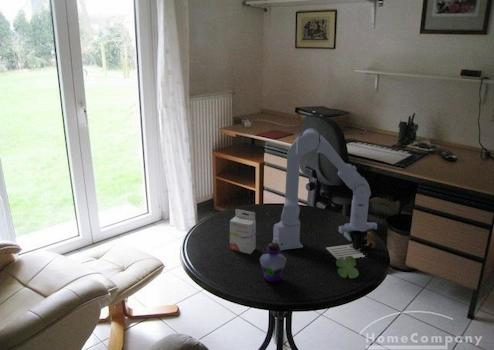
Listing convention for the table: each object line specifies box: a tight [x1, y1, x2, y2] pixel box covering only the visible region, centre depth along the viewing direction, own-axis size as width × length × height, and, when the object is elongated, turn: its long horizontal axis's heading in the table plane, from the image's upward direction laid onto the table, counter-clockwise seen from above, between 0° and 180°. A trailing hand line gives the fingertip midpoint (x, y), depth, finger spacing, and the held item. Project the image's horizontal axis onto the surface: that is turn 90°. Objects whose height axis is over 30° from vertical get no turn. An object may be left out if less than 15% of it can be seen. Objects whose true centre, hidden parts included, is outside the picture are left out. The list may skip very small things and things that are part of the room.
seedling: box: [335, 256, 360, 279], centre depth 134 cm, size 7×8×6 cm
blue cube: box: [343, 222, 352, 242], centre depth 159 cm, size 5×5×6 cm
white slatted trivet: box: [325, 244, 366, 260], centre depth 148 cm, size 12×10×1 cm
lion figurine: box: [346, 231, 378, 249], centre depth 152 cm, size 12×4×7 cm, turn 86°
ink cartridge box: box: [229, 208, 257, 255], centre depth 148 cm, size 9×5×15 cm, turn 65°
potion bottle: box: [259, 242, 288, 284], centre depth 129 cm, size 9×9×12 cm
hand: (356, 248), depth 149 cm, fingers closed
